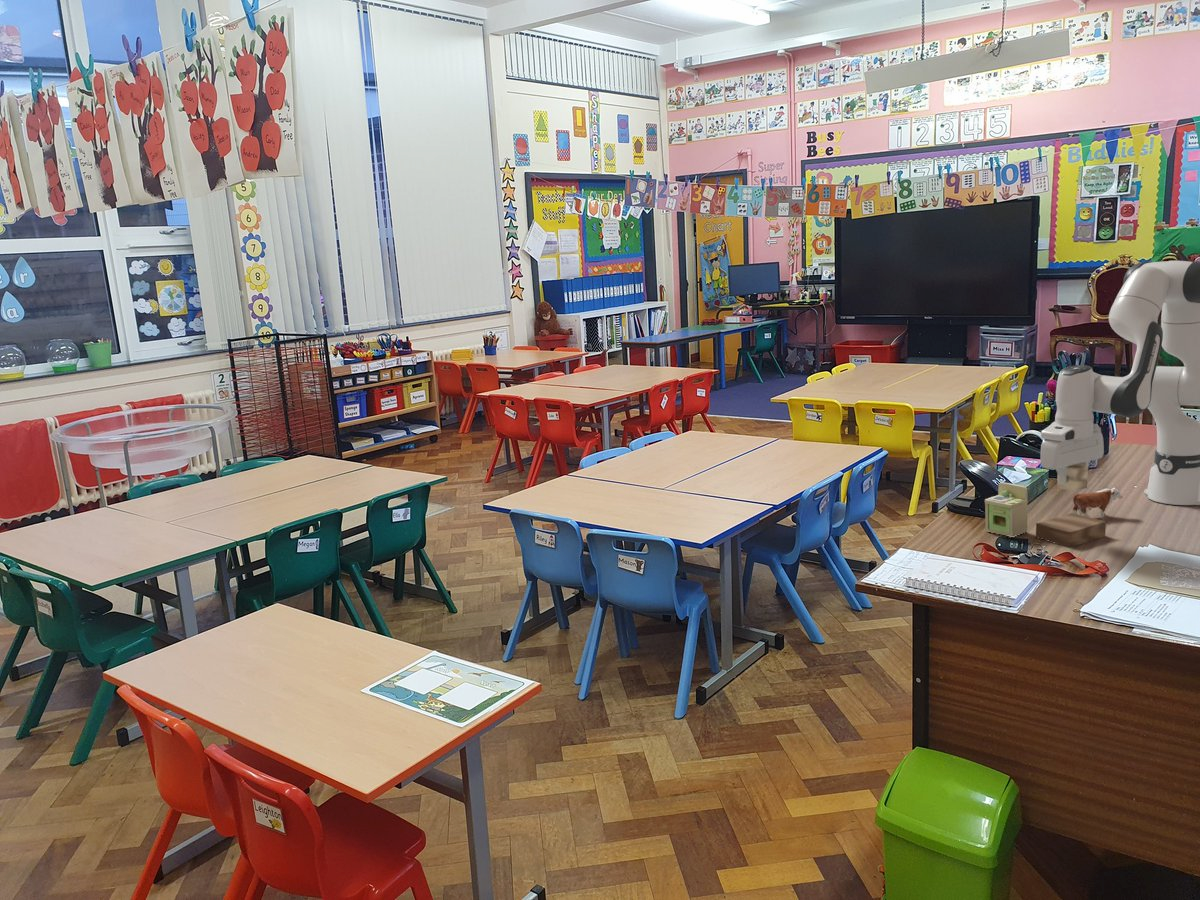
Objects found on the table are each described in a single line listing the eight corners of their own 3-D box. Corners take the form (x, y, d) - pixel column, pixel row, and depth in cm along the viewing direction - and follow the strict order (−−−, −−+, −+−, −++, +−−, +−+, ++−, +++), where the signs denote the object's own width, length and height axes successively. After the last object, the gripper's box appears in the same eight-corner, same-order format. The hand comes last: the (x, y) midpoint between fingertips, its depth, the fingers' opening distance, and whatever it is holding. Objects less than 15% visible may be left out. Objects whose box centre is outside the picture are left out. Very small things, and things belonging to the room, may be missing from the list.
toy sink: (983, 532, 247) (983, 486, 244) (999, 526, 251) (1000, 481, 248) (1010, 539, 240) (1011, 492, 237) (1027, 532, 244) (1028, 486, 241)
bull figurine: (1124, 516, 250) (1125, 488, 248) (1075, 520, 250) (1076, 492, 249) (1115, 512, 254) (1116, 484, 252) (1067, 515, 255) (1068, 488, 253)
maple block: (1069, 484, 238) (1070, 462, 237) (1087, 488, 234) (1087, 465, 232) (1057, 487, 236) (1057, 465, 235) (1074, 491, 231) (1075, 469, 230)
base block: (1071, 527, 245) (1071, 513, 244) (1105, 535, 236) (1105, 521, 235) (1035, 537, 239) (1036, 523, 238) (1069, 547, 230) (1070, 532, 230)
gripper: (1089, 421, 239) (1087, 471, 241) (1036, 432, 230) (1035, 484, 233) (1111, 424, 233) (1109, 475, 236) (1058, 436, 224) (1056, 489, 227)
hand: (1072, 480), depth 234 cm, fingers closed on maple block, 5 cm apart
